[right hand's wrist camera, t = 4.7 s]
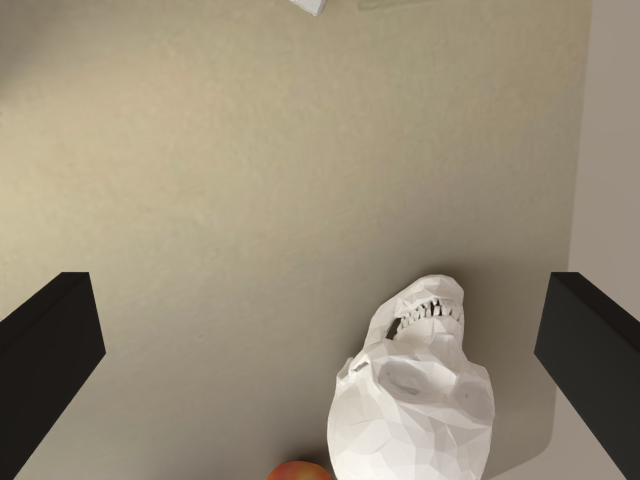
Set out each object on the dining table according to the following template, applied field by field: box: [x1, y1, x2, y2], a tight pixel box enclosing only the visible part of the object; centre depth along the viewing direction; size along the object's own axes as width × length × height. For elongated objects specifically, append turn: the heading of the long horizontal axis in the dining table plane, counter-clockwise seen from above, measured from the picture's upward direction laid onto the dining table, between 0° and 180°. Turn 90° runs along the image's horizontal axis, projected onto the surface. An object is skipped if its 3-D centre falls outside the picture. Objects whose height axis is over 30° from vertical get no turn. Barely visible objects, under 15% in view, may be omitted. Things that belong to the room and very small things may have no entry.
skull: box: [327, 275, 495, 480], centre depth 41 cm, size 13×22×16 cm, turn 165°
